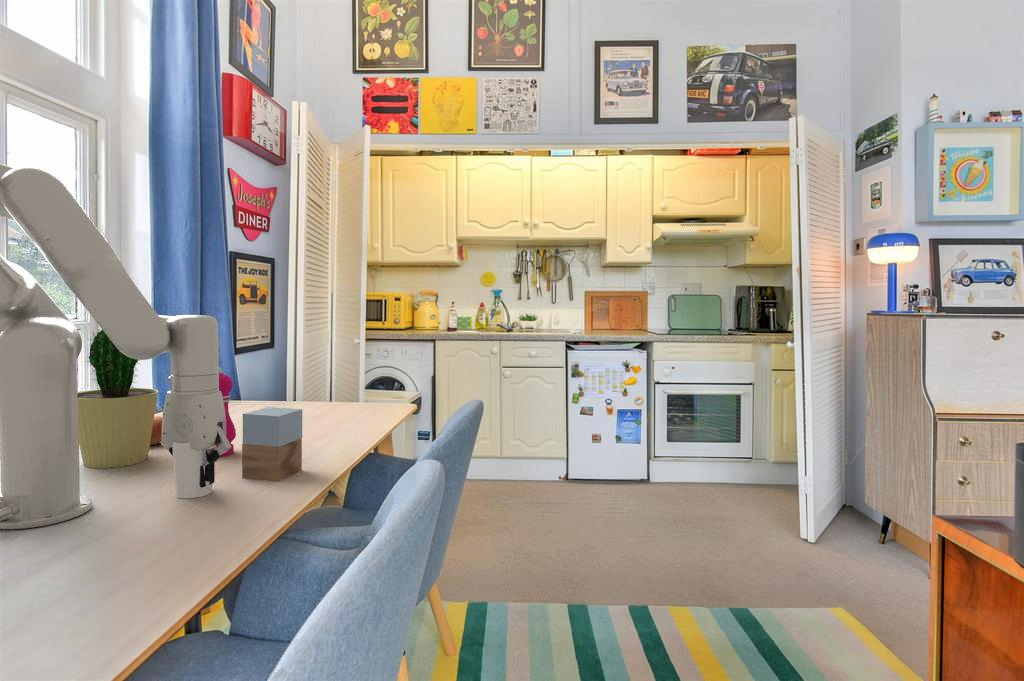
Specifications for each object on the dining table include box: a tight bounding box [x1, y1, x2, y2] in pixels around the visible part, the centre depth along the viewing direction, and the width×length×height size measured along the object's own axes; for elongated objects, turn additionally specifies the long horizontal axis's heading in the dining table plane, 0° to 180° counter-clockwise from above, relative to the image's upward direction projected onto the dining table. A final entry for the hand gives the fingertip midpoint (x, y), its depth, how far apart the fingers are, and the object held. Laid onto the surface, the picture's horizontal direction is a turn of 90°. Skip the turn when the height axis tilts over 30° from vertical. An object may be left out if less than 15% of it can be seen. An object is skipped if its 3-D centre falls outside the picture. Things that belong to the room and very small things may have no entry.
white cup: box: [172, 442, 214, 499], centre depth 99 cm, size 7×7×10 cm
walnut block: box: [241, 437, 303, 483], centre depth 112 cm, size 8×8×7 cm
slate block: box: [242, 406, 303, 447], centre depth 111 cm, size 8×8×6 cm
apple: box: [150, 415, 162, 446], centre depth 132 cm, size 8×8×8 cm
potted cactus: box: [78, 328, 159, 469], centre depth 117 cm, size 15×15×30 cm
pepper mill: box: [216, 367, 237, 458], centre depth 125 cm, size 7×7×20 cm
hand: (196, 483), depth 99 cm, fingers closed on white cup, 3 cm apart
